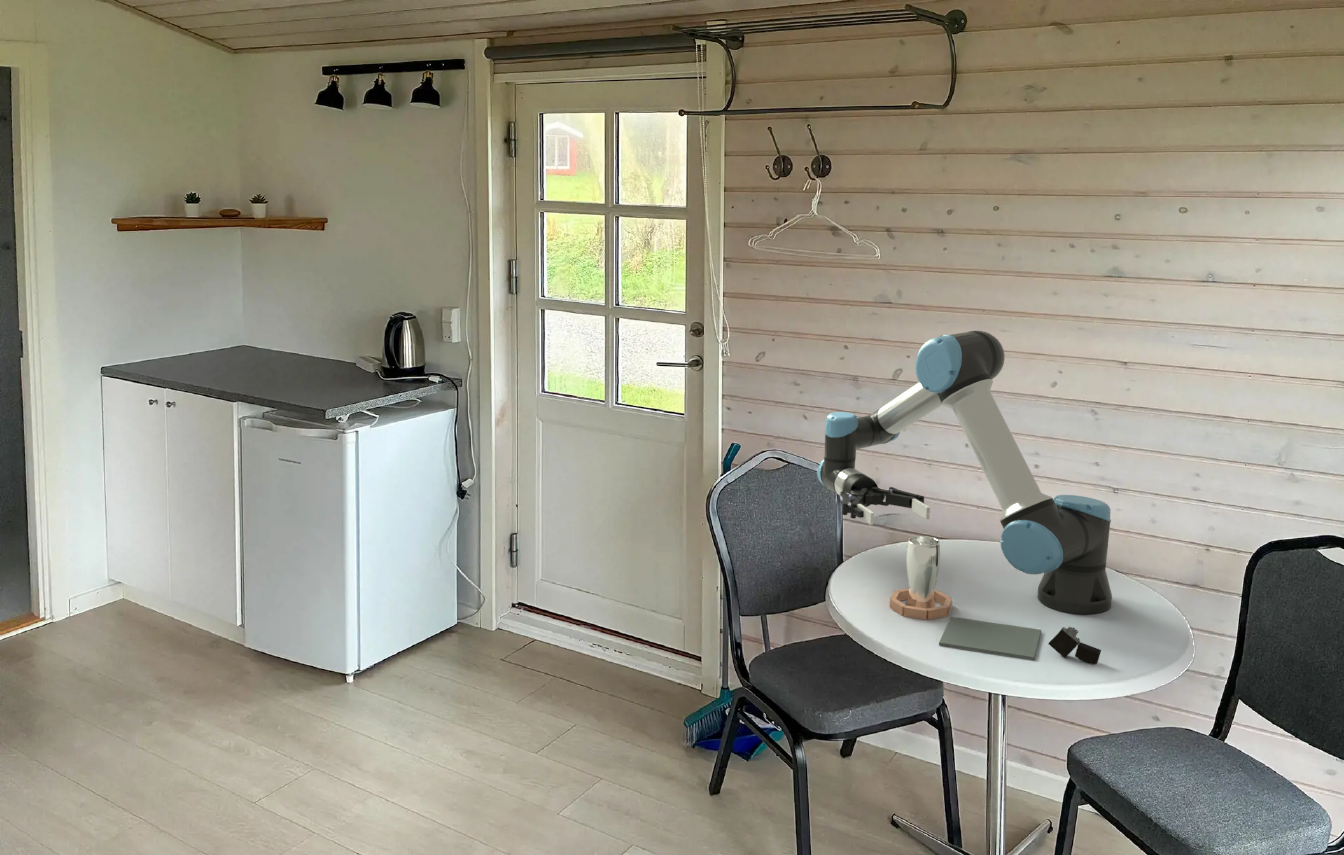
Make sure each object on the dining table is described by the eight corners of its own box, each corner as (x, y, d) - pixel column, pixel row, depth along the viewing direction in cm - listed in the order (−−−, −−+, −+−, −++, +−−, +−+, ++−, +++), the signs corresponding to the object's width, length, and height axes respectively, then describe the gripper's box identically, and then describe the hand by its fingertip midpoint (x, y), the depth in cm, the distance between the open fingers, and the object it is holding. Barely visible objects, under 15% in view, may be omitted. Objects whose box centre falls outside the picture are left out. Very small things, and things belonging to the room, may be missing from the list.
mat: (1040, 632, 232) (1041, 629, 232) (1033, 660, 219) (1034, 657, 219) (950, 619, 239) (950, 616, 239) (938, 645, 226) (939, 642, 226)
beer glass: (937, 614, 241) (941, 547, 237) (903, 612, 242) (907, 545, 239) (937, 602, 248) (940, 536, 244) (904, 600, 249) (907, 534, 245)
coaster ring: (954, 601, 248) (955, 592, 248) (945, 622, 237) (945, 613, 237) (897, 593, 253) (898, 584, 252) (885, 613, 242) (885, 604, 241)
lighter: (1088, 671, 221) (1106, 652, 218) (1085, 675, 219) (1103, 656, 216) (1051, 639, 223) (1069, 620, 221) (1047, 643, 222) (1065, 624, 219)
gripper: (903, 499, 275) (949, 527, 255) (807, 508, 267) (847, 537, 248) (905, 468, 273) (951, 494, 253) (808, 477, 265) (849, 504, 246)
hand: (900, 516), depth 250 cm, fingers open, 13 cm apart
